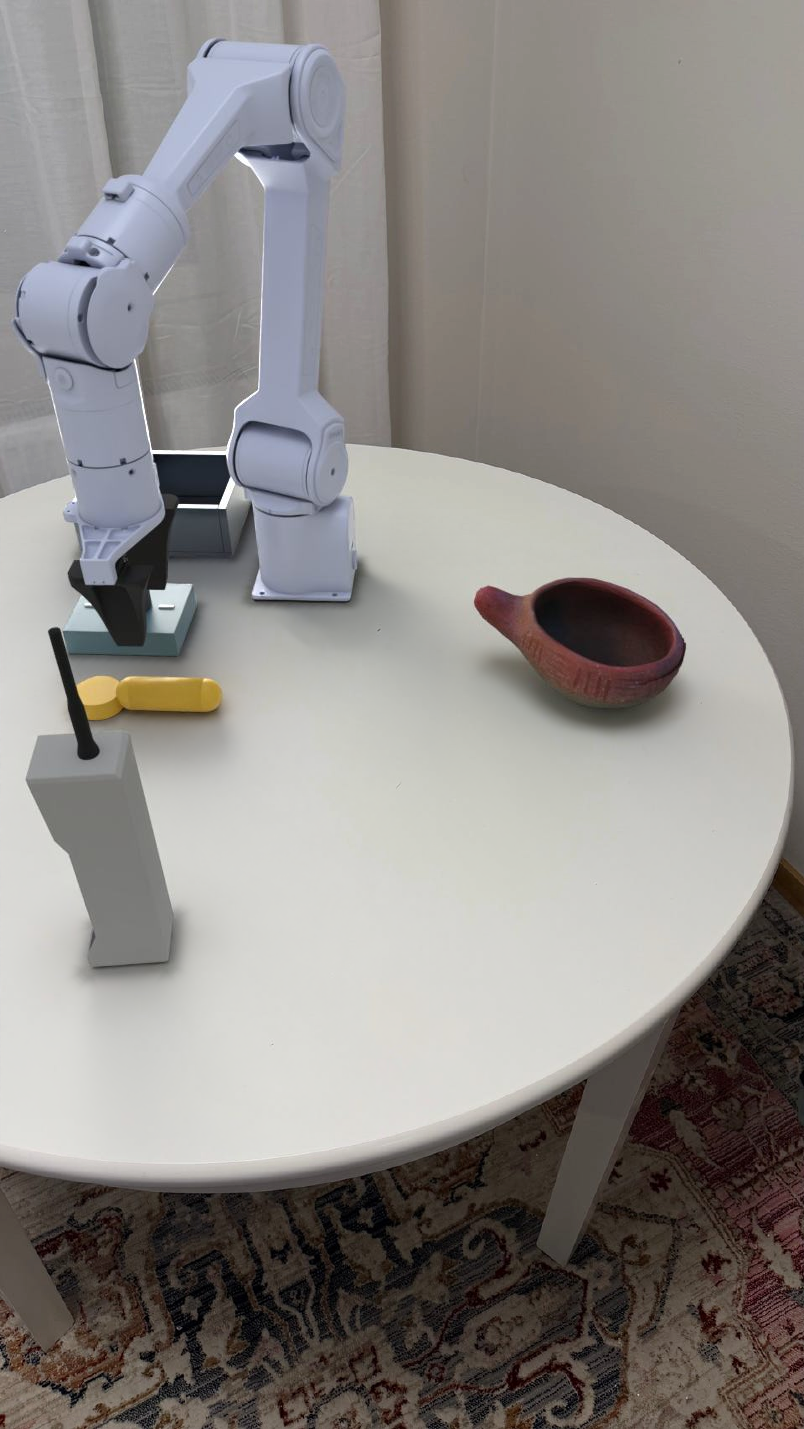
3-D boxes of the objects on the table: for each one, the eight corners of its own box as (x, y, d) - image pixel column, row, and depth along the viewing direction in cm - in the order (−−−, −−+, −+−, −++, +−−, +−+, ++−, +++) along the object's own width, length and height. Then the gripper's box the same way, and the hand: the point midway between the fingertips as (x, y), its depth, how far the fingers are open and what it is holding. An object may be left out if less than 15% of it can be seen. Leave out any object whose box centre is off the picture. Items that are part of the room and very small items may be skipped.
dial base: (197, 605, 96) (193, 581, 94) (178, 657, 89) (173, 632, 88) (94, 603, 96) (88, 579, 94) (67, 654, 90) (60, 630, 88)
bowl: (638, 632, 91) (651, 556, 86) (697, 722, 82) (716, 642, 77) (467, 655, 89) (470, 578, 84) (507, 750, 79) (513, 670, 74)
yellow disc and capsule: (228, 693, 85) (224, 667, 84) (219, 724, 82) (214, 697, 80) (84, 689, 86) (77, 663, 84) (70, 719, 83) (62, 693, 81)
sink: (253, 498, 112) (247, 451, 108) (232, 558, 102) (225, 508, 98) (114, 496, 112) (104, 449, 109) (81, 555, 103) (69, 506, 99)
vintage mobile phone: (98, 922, 67) (-2, 610, 51) (174, 917, 67) (98, 604, 51) (90, 969, 64) (-20, 654, 48) (169, 963, 64) (87, 648, 48)
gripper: (79, 407, 75) (114, 565, 83) (17, 500, 64) (64, 670, 72) (173, 407, 75) (198, 565, 83) (127, 500, 63) (162, 671, 72)
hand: (142, 614), depth 78 cm, fingers open, 7 cm apart
